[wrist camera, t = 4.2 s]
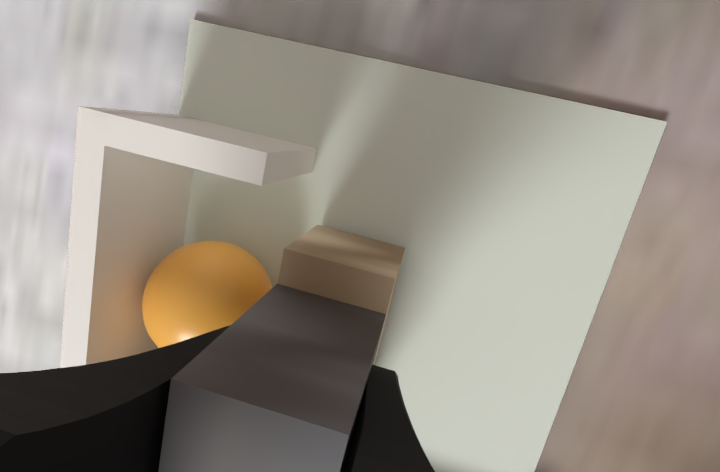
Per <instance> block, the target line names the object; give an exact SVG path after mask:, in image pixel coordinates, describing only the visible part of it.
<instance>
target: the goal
mask: <svg viewBox="0 0 720 472" xmlns="http://www.w3.org/2000/svg"><path fill="white" fill-rule="evenodd" d="M316 151H317V148H313V147H309V146H305V145H301V144H297V143H293V142H289V141H284V140H280V139H276V138H272V137H268V136H264V135H260V134H256V133H251V132H247V131H243V130H239V129H235V128H231V127H227V126H223V125H218V124H214V123H210V122H206V121H202V120H198V119H194V118H190V117H185V116H181V115H175V114H164V113H152V112H140V111H129V110H117V109H106V108H94V107H82V106H78V117H77V131H76V146H75V160H74V174H73V189H72V203H71V218H70V232H69V246H68V261H67V275H66V289H65V304H64V318H63V332H62V347H61V361H60V368H65V367H73V366H81V365H88V364H94V363H99V362H104V361H109V360H114V359H119V358H124V357H128V356H132V355H136V354H140V353H143V352H147V351H150V350H154V349H157V348H158V347H157V346H156V344H155V343H154V342H153V340H152V339H151V338H150V336H149V334H148V332H147V329H146V327H145V324H144V320H143V313H142V299H143V294H144V289H145V286H146V283H147V281H148V279H149V277H150V275H151V274H152V272H153V270H154V269H155V268H156V267H157V265H158V264H159V263H160V262H161V261H162V260H163V259H164V258H165V257H166V256H168V255H169V254H170V253H172V252H173V251H175V250H176V249H178V248H180V247H182V246H183V242H184V234H185V227H186V220H187V212H188V205H189V197H190V190H191V182H192V175H193V168H194V169H198V170H202V171H206V172H209V173H213V174H217V175H221V176H225V177H229V178H233V179H237V180H241V181H245V182H248V183H252V184H256V185H260V186H263V185H267V184H270V183H274V182H278V181H281V180H285V179H289V178H293V177H296V176H300V175H304V174H307V173H311V172H312V171H313V166H314V161H315V156H316Z"/></svg>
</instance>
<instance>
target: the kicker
mask: <svg viewBox="0 0 720 472" xmlns="http://www.w3.org/2000/svg"><path fill="white" fill-rule="evenodd" d="M404 251H405V247H401V246H397V245H394V244H390V243H386V242H382V241H378V240H375V239H371V238H367V237H363V236H359V235H356V234H352V233H348V232H344V231H340V230H336V229H333V228H329V227H325V226H321V225H316V226H315V227H314V228H312V229H311V230H309V231H308V232H306V233H305V234H304V235H302V236H301V237H299V238H298V239H297V240H295V241H294V242H292V243H291V244H290V245H288V246H287V247H285V248H284V251H283V256H282V262H281V267H280V272H279V277H278V283H277V284H276V285H275V286H274V287H273V288H272V289H271V290H270V291H269V292H267V293H266V294H265V295H264V296H263V297H262V298H261V299H260V300H259V301H257V302H256V303H255V304H254V305H253V306H252V307H251V308H250V309H248V310H247V311H246V312H245V313H244V314H243V315H242V316H241V317H240V318H238V319H237V320H236V321H235V322H234V323H233V324H232V325H231V326H229V327H228V328H227V329H226V330H225V331H224V332H223V333H222V334H221V335H219V336H218V337H217V338H216V339H215V340H214V341H213V342H212V343H211V344H209V345H208V346H207V347H206V348H205V349H204V350H203V351H202V352H200V353H199V354H198V355H197V356H196V357H195V358H194V359H193V360H192V361H190V362H189V363H188V364H187V365H186V366H185V367H184V368H183V369H182V370H180V371H179V372H178V373H177V374H176V375H175V376H174V377H173V378H171V382H170V390H169V397H168V404H167V412H166V419H165V426H164V433H163V441H162V448H161V455H160V462H159V470H158V472H344V469H345V465H346V461H347V457H348V453H349V449H350V445H351V442H352V438H353V434H354V430H355V426H356V422H357V418H358V414H359V410H360V407H361V403H362V399H363V395H364V391H365V387H366V383H367V379H368V376H369V373H370V370H371V367H372V365H375V363H376V359H377V355H378V351H379V347H380V343H381V339H382V336H383V332H384V328H385V324H386V320H387V316H388V312H389V309H390V305H391V301H392V297H393V293H394V289H395V285H396V282H397V278H398V274H399V270H400V266H401V262H402V258H403V255H404Z"/></svg>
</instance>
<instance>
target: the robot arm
mask: <svg viewBox="0 0 720 472" xmlns="http://www.w3.org/2000/svg"><path fill="white" fill-rule="evenodd" d="M230 326H231V325H230ZM228 327H229V326H226V327H223V328H220V329H217V330H214V331H211V332H208V333H205V334H202V335H199V336H196V337H193V338H190V339H187V340H184V341H181V342H178V343H175V344H171V345H168V346H164V347H161V348H157V349H154V350H150V351H147V352H143V353H140V354H136V355H132V356H128V357H124V358H119V359H114V360H109V361H104V362H99V363H94V364H88V365H81V366H73V367H65V368H57V369H49V370H41V371H31V372H17V373H0V472H158V470H159V462H160V455H161V448H162V441H163V433H164V426H165V419H166V412H167V404H168V397H169V390H170V382H171V378H173V377H174V376H175V375H176V374H177V373H178V372H179V371H180V370H182V369H183V368H184V367H185V366H186V365H187V364H188V363H189V362H190V361H192V360H193V359H194V358H195V357H196V356H197V355H198V354H199V353H200V352H202V351H203V350H204V349H205V348H206V347H207V346H208V345H209V344H211V343H212V342H213V341H214V340H215V339H216V338H217V337H218V336H219V335H221V334H222V333H223V332H224V331H225V330H226V329H227V328H228ZM344 472H435V471H434V469H433V467H432V466H431V464H430V462H429V460H428V458H427V456H426V454H425V452H424V451H423V448H422V446H421V444H420V442H419V440H418V438H417V436H416V433H415V431H414V428H413V426H412V423H411V421H410V418H409V415H408V413H407V410H406V407H405V404H404V401H403V397H402V394H401V390H400V386H399V381H398V376H397V374H396V372H395V371H393V370H389V369H386V368H382V367H379V366H376V365H372V367H371V370H370V373H369V376H368V379H367V383H366V387H365V391H364V395H363V399H362V403H361V407H360V410H359V414H358V418H357V422H356V426H355V430H354V434H353V438H352V442H351V445H350V449H349V453H348V457H347V461H346V465H345V469H344Z"/></svg>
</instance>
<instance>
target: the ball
mask: <svg viewBox="0 0 720 472" xmlns="http://www.w3.org/2000/svg"><path fill="white" fill-rule="evenodd" d="M271 289H272V284H271V281H270V278H269V276H268V274H267V272H266V270H265V269H264V267H263V266H262V264H261V263H260V262H259V261H258V260H257V259H256V258H255V257H254V256H253V255H252V254H250V253H249V252H248V251H246V250H244V249H243V248H241V247H239V246H237V245H234V244H231V243H227V242H223V241H199V242H195V243H191V244H188V245H185V246H182V247H180V248H178V249H176V250H175V251H173V252H172V253H170V254H169V255H168V256H166V257H165V258H164V259H163V260H162V261H161V262H160V263H159V264H158V265H157V267H156V268H155V269H154V270H153V272H152V274H151V275H150V277H149V279H148V281H147V283H146V286H145V289H144V294H143V299H142V313H143V320H144V324H145V327H146V329H147V332H148V334H149V336H150V338H151V339H152V340H153V342H154V343H155V344H156V346H157V347H158V348H161V347H164V346H168V345H171V344H175V343H178V342H181V341H184V340H187V339H190V338H193V337H196V336H199V335H202V334H205V333H208V332H211V331H214V330H217V329H220V328H223V327H226V326H230V325H232V324H233V323H234V322H235V321H236V320H237V319H238V318H240V317H241V316H242V315H243V314H244V313H245V312H246V311H247V310H248V309H250V308H251V307H252V306H253V305H254V304H255V303H256V302H257V301H259V300H260V299H261V298H262V297H263V296H264V295H265V294H266V293H267V292H269V291H270V290H271Z"/></svg>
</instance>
